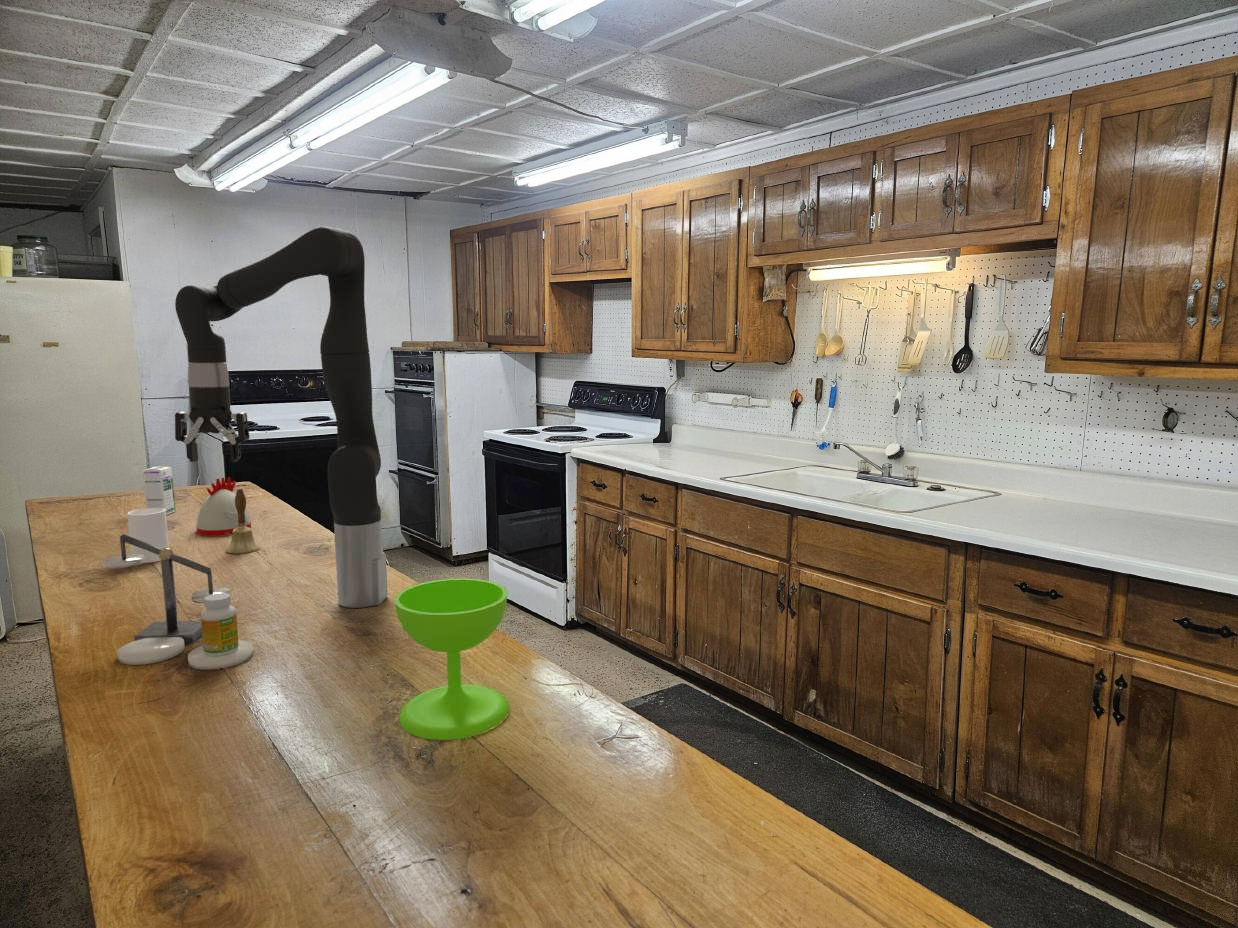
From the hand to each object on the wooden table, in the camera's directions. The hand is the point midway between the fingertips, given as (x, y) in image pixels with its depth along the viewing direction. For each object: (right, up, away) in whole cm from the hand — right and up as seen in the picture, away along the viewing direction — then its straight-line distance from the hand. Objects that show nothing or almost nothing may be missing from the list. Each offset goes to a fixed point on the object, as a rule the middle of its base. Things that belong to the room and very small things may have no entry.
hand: (214, 461), depth 165 cm
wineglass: (+61, -37, -50) cm, 87 cm away
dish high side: (+4, -34, -29) cm, 44 cm away
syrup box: (-56, -16, +77) cm, 97 cm away
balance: (+3, -32, -21) cm, 39 cm away
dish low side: (+17, -34, -31) cm, 49 cm away
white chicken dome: (-27, -20, +58) cm, 67 cm away
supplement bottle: (+17, -33, -31) cm, 48 cm away
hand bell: (-12, -23, +37) cm, 45 cm away
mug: (-32, -24, +30) cm, 50 cm away
